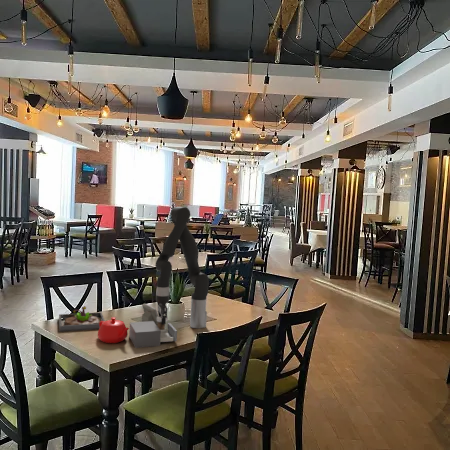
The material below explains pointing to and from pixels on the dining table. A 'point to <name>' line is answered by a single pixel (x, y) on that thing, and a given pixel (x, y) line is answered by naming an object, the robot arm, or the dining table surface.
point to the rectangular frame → (79, 327)
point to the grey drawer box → (168, 334)
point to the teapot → (112, 331)
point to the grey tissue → (149, 314)
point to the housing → (144, 334)
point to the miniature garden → (82, 318)
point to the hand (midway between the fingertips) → (162, 322)
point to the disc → (159, 319)
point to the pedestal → (161, 326)
